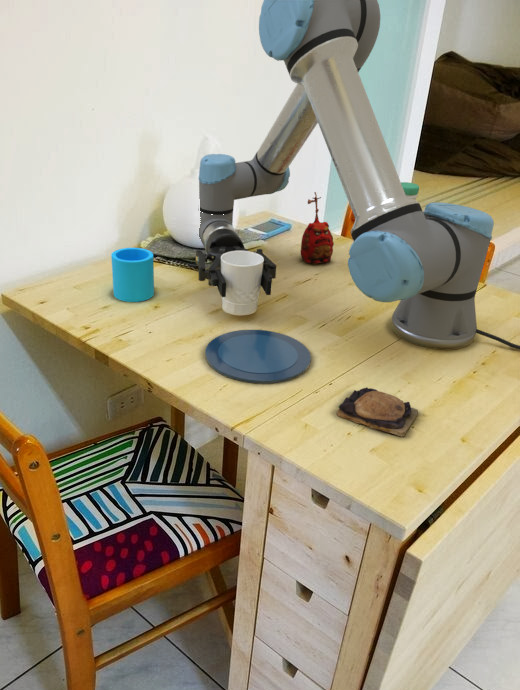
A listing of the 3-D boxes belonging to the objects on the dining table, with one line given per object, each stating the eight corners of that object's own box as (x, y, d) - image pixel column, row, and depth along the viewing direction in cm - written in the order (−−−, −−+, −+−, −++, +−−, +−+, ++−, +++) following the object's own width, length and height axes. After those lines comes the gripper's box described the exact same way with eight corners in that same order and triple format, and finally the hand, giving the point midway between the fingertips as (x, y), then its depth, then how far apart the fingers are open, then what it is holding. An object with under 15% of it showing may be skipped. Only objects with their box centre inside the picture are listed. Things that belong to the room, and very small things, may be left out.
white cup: (216, 315, 120) (218, 264, 115) (221, 298, 127) (223, 249, 122) (258, 318, 120) (262, 267, 114) (261, 301, 126) (265, 252, 121)
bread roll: (420, 413, 98) (425, 392, 96) (402, 440, 92) (407, 419, 90) (354, 391, 102) (358, 371, 100) (332, 416, 96) (336, 395, 94)
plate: (325, 348, 114) (325, 344, 114) (285, 395, 101) (286, 391, 100) (234, 324, 121) (234, 320, 121) (185, 365, 107) (185, 361, 107)
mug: (158, 299, 129) (158, 260, 125) (118, 304, 127) (116, 264, 122) (143, 277, 138) (142, 239, 134) (105, 281, 136) (103, 243, 132)
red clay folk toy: (308, 267, 147) (316, 200, 139) (293, 257, 152) (299, 192, 144) (336, 263, 149) (346, 197, 141) (320, 253, 155) (328, 189, 147)
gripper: (269, 261, 139) (299, 305, 120) (174, 264, 135) (189, 310, 116) (272, 226, 135) (303, 267, 116) (174, 229, 131) (190, 271, 112)
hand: (246, 288), depth 116 cm, fingers closed on white cup, 8 cm apart
